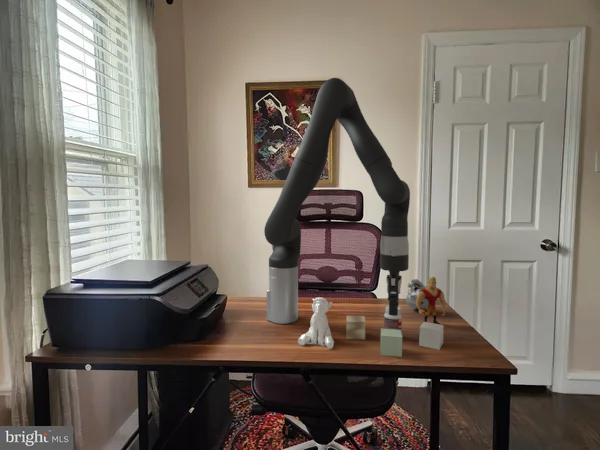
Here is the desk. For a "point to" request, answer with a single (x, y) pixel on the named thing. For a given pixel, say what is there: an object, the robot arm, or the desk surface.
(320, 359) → the desk surface
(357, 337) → the birch block
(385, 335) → the sage block
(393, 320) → the pill bottle
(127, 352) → the desk surface
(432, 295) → the action figure
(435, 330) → the grey block
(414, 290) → the heart
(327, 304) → the white creature statuette
